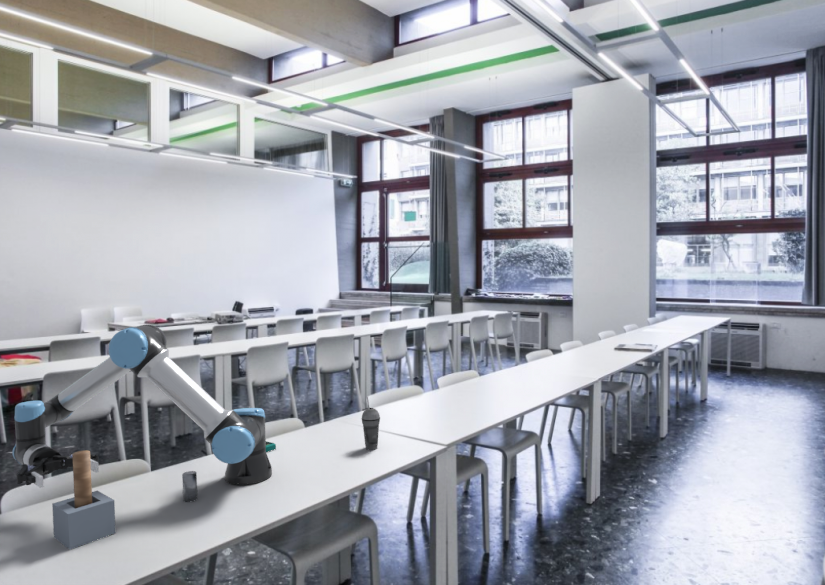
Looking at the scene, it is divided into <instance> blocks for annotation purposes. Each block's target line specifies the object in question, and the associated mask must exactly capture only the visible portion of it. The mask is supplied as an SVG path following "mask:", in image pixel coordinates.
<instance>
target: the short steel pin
mask: <svg viewBox="0 0 825 585" xmlns="http://www.w3.org/2000/svg"><path fill="white" fill-rule="evenodd" d="M181 475H182V501H183V502H184V501H185V503H191V502H190V501H192V502H195V501H197V500H196V499H198V479H197V471H194V470H188V471H186V472H185V471H184V472H183V473H182V474H181ZM194 500H195V501H194Z"/></svg>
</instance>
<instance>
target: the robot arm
mask: <svg viewBox="0 0 825 585" xmlns="http://www.w3.org/2000/svg"><path fill="white" fill-rule="evenodd" d="M169 352H170V350H169V348H168V347H167V336H166V335H165V332H164V331H163V330H162V329H161V328H160V327H158V326H155V325H153V324H143V325H138V326H133V327H132V326H130V327H125V328H123V329H121V330H119V331H118V332H116V333H115V334H114V335H113V336H112V338H111V339H110V341H109V344H108V355H109V357H108V358H107V359H105V360H104V361H103V362H101V363H100V364H98V365H96V366H95V367H94V368H93V369H91V370H90V371H88V372H87V373H85V374H84V375H83V376H81V377H80V378H79V379H77V380H75V381H73V383H72V384H70V385H69V386H67V387H66V388H64V389H63V390H62V391H60V392H59V393H58V394H56V395H55V396H53V397H52V398H50V399H49V400H47V401H42V400H28V401H24V402H23V401H22V402H19V403H17V404H16V405H15V407H14V428H15V429H14V430H15V445H14V446H13V449H12V450H11V451H12V457H13V459H14V460H15V461H16V462H17V463H18V464H19V465H21V468H20V470H19V471H18V473H17V474H16V484H17V485H21V484H23V483H24V482H25V486H30V485H32V484H34V485H35V486H37V487H38V488H40V489H41V488H43V487H45V486H44V476H46V475H50V474H52V473H54V472H55V471H58V470H67V469H68V468H73V455H72V454H73V453H74V452H72V453H71V452H70V456H69V455H61V453H60V451H58V450H57V449H55V448H52V447H51V446H49V445H47V444H46V443H47V442H46V428H48V427H50V426H52V425H54V424H56V423H58V422H62V421H64V420H66V419H68V418H69V417H71V416H72V414H73V413H74V412H75V411H77V410H78V409H79V408H80V407H82V406H83V405H84V404H87V402H89V401H90V400H91V399H93V398H94V397H96V396H97V395H99V394H100V393H101V392H103V391H105V390H106V389H107V388H109V387H110V386H112V384H115V383H116V382H118V380H120V379H122V378H123V377H124V376H126V375H127V374H129V373H130V372H132V373H133V374H134V375H135V376H136V377H137V378H146V379H147V380H149V382H150V383H152V384H153V385H154V386H155V387H156V388H158V390H160V391H161V392H162V393H163V394H164V396H166V397H167V398H168V399H169V400H170V401H171V402H173V403H174V404H175V405H176V406H177V407H178V408H179V409H180V410H181V411H182V412H183V414H185V415H186V416H188V418H190V420H192V421H193V422H194V423H195V424H196V425H197V426H198V427H200V428H201V430H202V431H203V432H204V433H203V434H204V436H203V438H204V439H205V440H206V442H208V444H210V445H211V451H212V454H213V456H214V457H215V458H216V459H217V460H219V461H220V462H222V463H224V464H227V465H226V469H225V472H224V480H225V482H226V483H228V484H231V485H237V484H241V485H242V484H245V485H252V484H256V483H257V484H258V483H260V482H264V481H266V480H268V479H270V478H271V477H272V476H273V467H272V465H271V462H270V460H269V457H268V454H267V452H266V440H267V439H266V413H265V410H264V409H263V408H260V407H244V408H235V409H225V408H224V407H223V406H222V405H221V404H220V403H219V402H217V401H216V399H214V398H213V397H212V396H211V395H210V393H208V392H207V391H206V390H205V389H204V388H203V387H202V386H200V385H199V384H198V383H197V382H196V381H195V380H194V379H193V378H191V377H190V375H188V373H186V372H185V371H184V370H183V369H182V368H181V367H180V366H179V365H178V364H177V363H176V362H174V360H173V359H171V357H170V356H169ZM90 461H91V472H94V473H95V474H97V473H99V471H100V469H99V454H92V453H90ZM241 485H240V486H241Z"/></svg>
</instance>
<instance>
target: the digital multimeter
mask: <svg viewBox="0 0 825 585" xmlns="http://www.w3.org/2000/svg"><path fill="white" fill-rule="evenodd" d="M274 449H275V450H277V444H276V443H274V442H270V441H266V453H268V451H269V452H272V451H275V450H274ZM271 450H272V451H271Z"/></svg>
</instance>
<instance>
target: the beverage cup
mask: <svg viewBox="0 0 825 585" xmlns="http://www.w3.org/2000/svg"><path fill="white" fill-rule="evenodd" d="M366 402H367V408H365V409H364V410H363V412H362V415H361V423H362V428H363V430H362V431H363V436H364V445H365V450H368V449H369V450H370V451H373V450H377V449H378V446H379V445H378V444H379V429H380V428H379V427H380V420H381V416H380V412H379V411H378V409H376V408H374V407H370V402H369V397H368V396H366Z"/></svg>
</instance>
